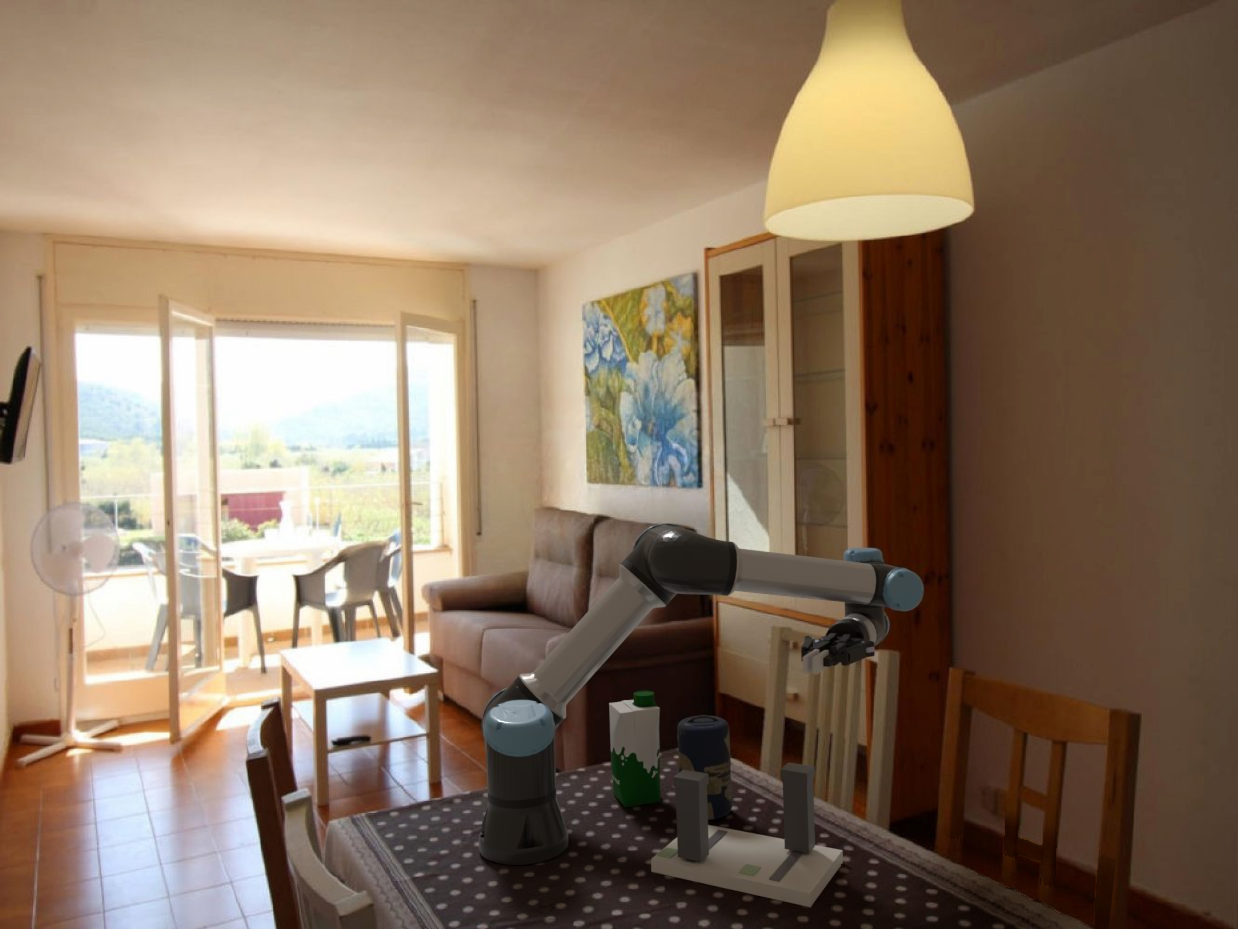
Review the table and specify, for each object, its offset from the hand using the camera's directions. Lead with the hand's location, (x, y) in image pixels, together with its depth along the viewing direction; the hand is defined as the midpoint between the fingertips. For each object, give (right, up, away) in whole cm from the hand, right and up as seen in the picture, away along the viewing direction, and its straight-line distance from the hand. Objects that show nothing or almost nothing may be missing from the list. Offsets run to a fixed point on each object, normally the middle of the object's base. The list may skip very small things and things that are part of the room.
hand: (809, 665), depth 156 cm
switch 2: (-3, -28, -6) cm, 28 cm away
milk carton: (-28, -31, +24) cm, 48 cm away
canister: (-16, -30, +16) cm, 38 cm away
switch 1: (-20, -28, -8) cm, 35 cm away
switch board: (-11, -31, -7) cm, 33 cm away
